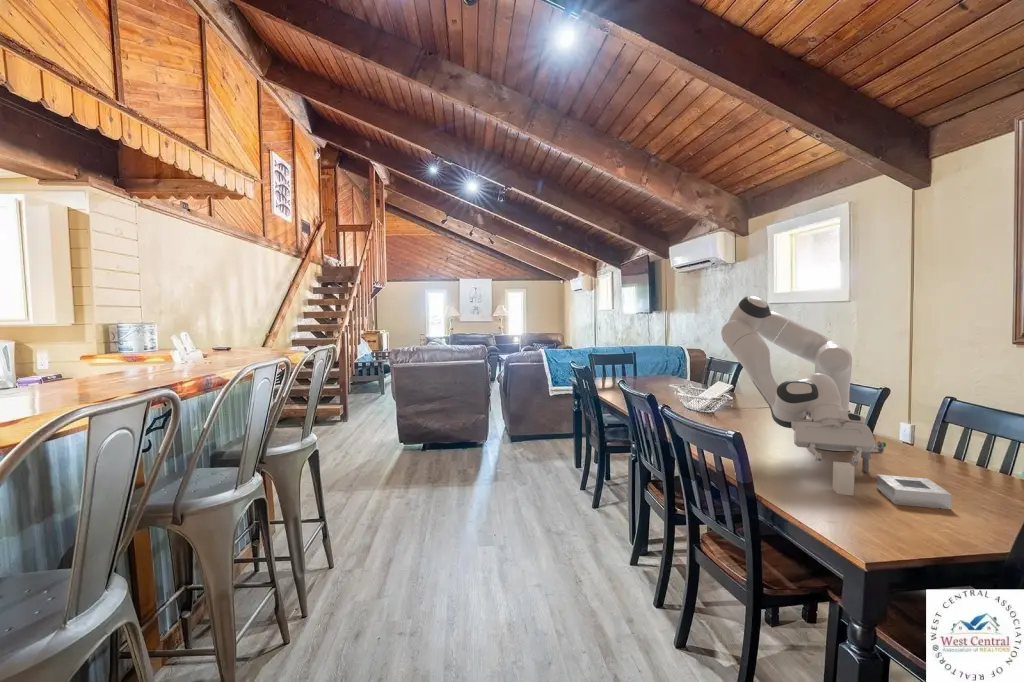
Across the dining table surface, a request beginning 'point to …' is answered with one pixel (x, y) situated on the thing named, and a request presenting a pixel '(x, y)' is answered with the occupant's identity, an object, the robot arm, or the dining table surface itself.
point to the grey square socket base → (913, 491)
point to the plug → (843, 478)
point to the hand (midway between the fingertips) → (837, 461)
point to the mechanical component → (866, 455)
